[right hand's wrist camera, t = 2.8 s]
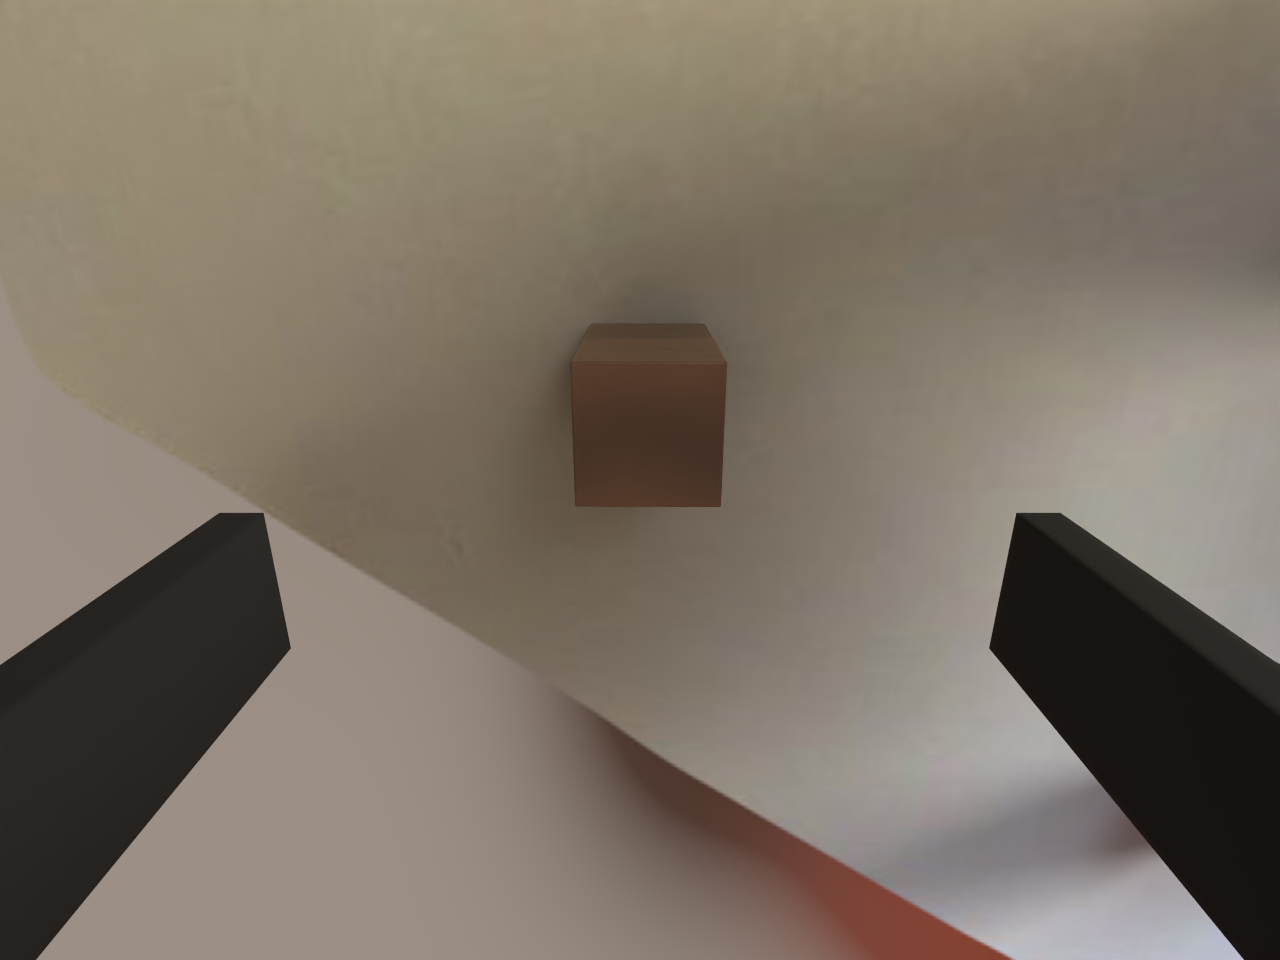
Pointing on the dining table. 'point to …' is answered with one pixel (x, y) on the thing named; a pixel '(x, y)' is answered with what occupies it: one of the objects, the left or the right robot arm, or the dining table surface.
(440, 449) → the dining table surface
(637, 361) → the block
